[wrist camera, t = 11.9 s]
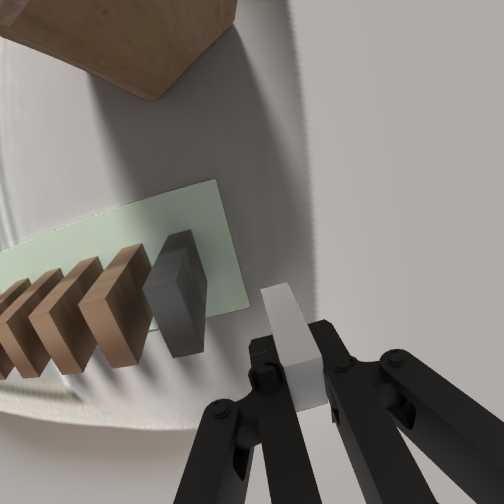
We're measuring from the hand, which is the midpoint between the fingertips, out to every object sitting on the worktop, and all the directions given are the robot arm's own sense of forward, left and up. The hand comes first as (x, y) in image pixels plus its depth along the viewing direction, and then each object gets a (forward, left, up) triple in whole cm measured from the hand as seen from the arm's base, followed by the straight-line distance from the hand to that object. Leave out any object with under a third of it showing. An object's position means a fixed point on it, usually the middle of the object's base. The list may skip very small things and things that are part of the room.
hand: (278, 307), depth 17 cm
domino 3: (0, -10, -10) cm, 15 cm away
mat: (0, -15, -11) cm, 19 cm away
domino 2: (0, -15, -11) cm, 18 cm away
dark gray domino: (0, -6, -11) cm, 12 cm away
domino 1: (0, -19, -11) cm, 22 cm away
